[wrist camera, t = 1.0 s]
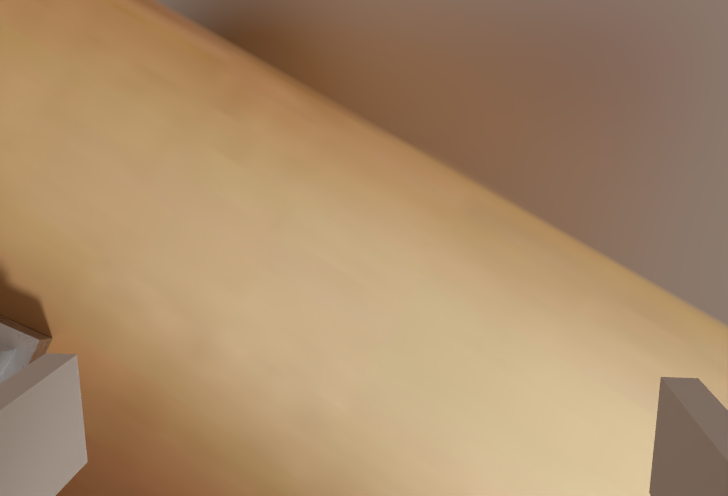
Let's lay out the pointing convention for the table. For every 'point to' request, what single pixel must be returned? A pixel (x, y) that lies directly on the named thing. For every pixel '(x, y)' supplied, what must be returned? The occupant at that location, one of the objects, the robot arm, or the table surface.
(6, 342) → the grey square socket base
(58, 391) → the robot arm
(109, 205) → the table surface
